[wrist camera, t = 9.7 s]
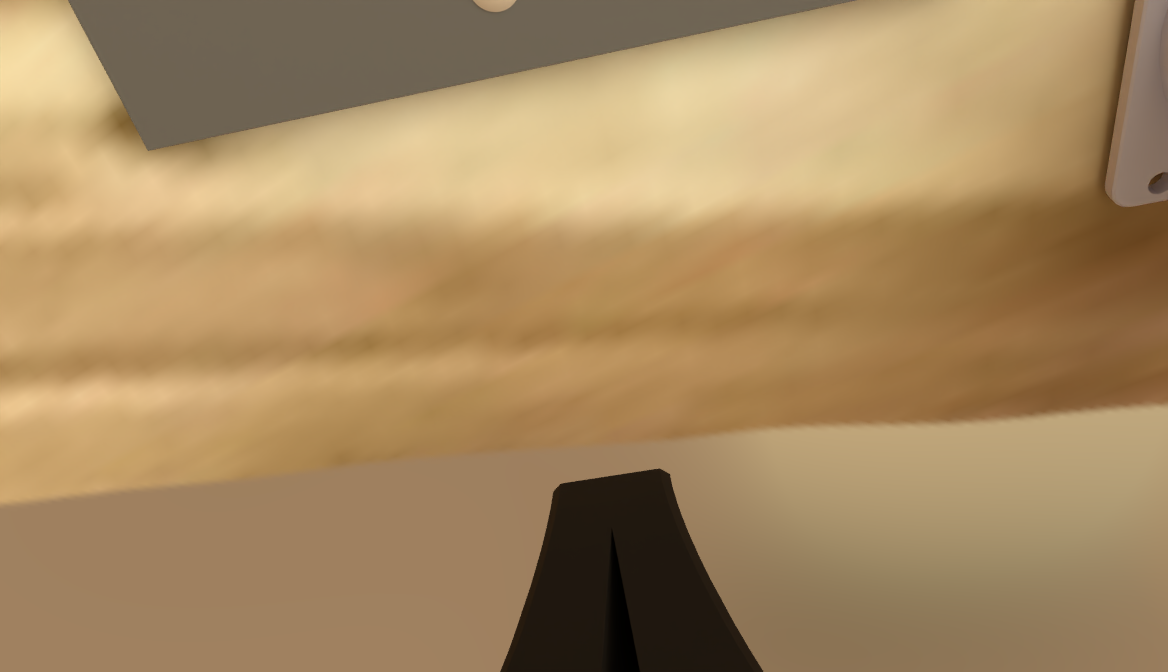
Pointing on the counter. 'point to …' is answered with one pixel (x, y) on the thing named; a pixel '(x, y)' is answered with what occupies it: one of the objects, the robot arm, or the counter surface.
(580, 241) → the counter surface
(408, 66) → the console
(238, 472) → the counter surface
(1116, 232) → the counter surface
